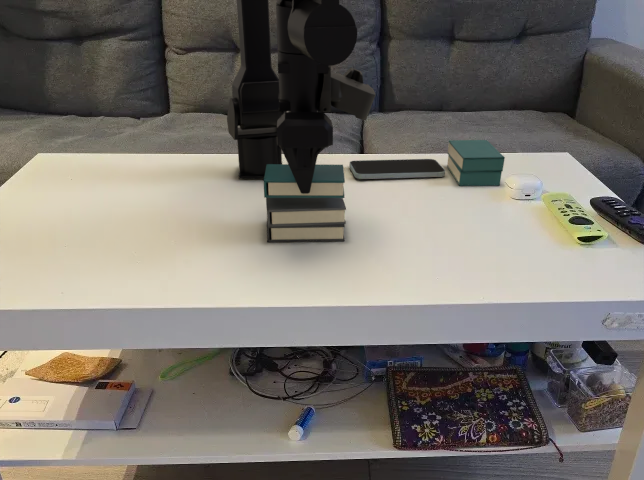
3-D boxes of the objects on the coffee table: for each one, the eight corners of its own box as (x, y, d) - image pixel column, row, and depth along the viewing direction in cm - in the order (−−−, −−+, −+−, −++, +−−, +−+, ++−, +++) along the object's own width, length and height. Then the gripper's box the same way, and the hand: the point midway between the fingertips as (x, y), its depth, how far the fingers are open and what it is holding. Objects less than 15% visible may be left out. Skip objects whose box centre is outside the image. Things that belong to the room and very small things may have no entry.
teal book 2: (502, 171, 105) (504, 157, 104) (462, 172, 104) (463, 158, 103) (484, 153, 113) (486, 139, 112) (447, 153, 112) (448, 140, 111)
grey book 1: (267, 226, 85) (267, 210, 84) (266, 208, 90) (265, 192, 89) (345, 224, 86) (346, 207, 85) (339, 206, 91) (340, 190, 90)
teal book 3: (499, 185, 106) (501, 171, 105) (459, 185, 106) (460, 172, 104) (484, 166, 114) (486, 153, 113) (446, 166, 114) (448, 153, 112)
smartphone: (447, 172, 108) (356, 174, 106) (446, 177, 109) (356, 180, 107) (434, 158, 114) (348, 160, 112) (433, 163, 115) (348, 166, 113)
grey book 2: (267, 242, 86) (266, 225, 85) (268, 223, 92) (267, 207, 90) (344, 241, 87) (344, 225, 86) (341, 222, 92) (341, 207, 91)
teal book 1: (264, 197, 83) (263, 180, 82) (267, 180, 88) (266, 164, 87) (344, 197, 83) (344, 180, 82) (342, 181, 89) (343, 164, 87)
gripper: (381, 65, 69) (375, 209, 78) (364, 38, 85) (360, 161, 94) (274, 65, 69) (279, 210, 78) (276, 38, 84) (281, 162, 93)
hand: (304, 184), depth 85 cm, fingers closed on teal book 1, 6 cm apart
